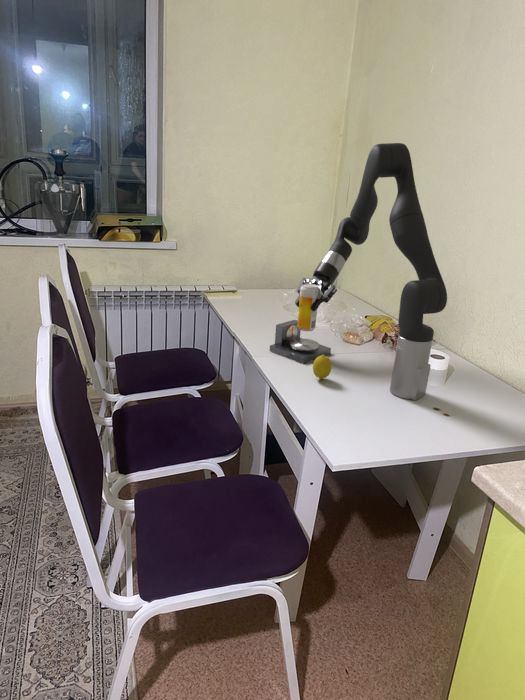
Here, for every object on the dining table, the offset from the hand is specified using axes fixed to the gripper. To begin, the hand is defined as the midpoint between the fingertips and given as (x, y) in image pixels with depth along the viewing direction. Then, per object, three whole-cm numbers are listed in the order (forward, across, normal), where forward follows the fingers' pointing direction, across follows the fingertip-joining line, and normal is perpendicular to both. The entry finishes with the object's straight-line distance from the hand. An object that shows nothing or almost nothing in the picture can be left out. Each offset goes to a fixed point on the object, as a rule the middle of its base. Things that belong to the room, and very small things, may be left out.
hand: (304, 307), depth 163 cm
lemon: (+20, +18, +4) cm, 27 cm away
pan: (+9, 0, +11) cm, 14 cm away
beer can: (+4, 0, +7) cm, 8 cm away
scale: (+11, -1, +13) cm, 17 cm away
